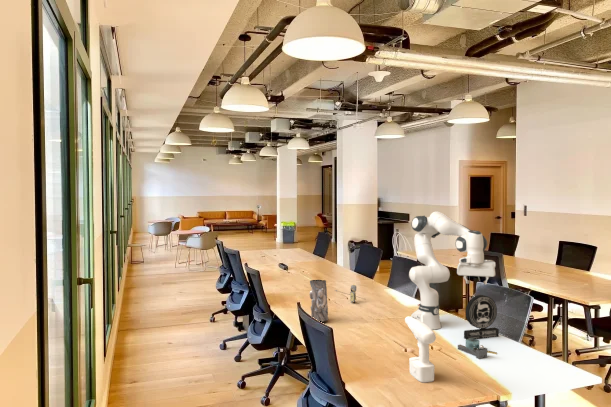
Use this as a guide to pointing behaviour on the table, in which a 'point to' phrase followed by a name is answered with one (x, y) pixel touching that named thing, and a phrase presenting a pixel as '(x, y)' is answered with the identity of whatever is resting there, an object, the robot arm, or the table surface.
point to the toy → (352, 293)
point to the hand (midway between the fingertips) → (476, 283)
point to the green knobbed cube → (472, 343)
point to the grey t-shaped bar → (475, 351)
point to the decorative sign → (481, 317)
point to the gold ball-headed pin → (491, 352)
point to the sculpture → (319, 300)
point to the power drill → (421, 351)
